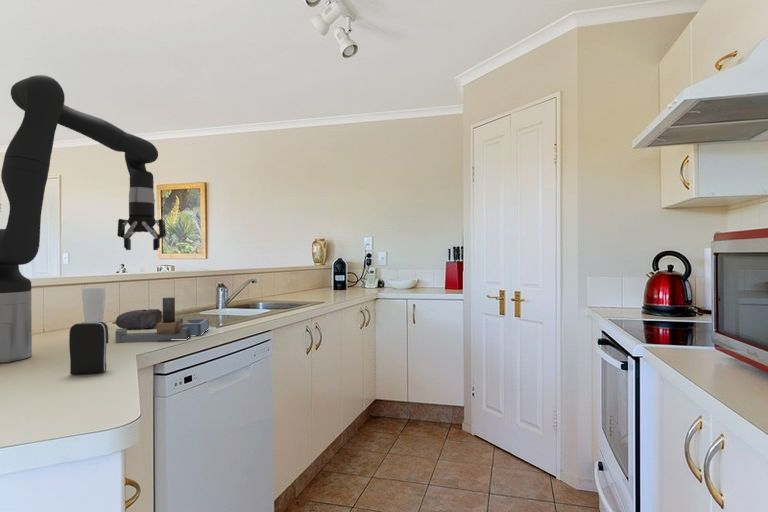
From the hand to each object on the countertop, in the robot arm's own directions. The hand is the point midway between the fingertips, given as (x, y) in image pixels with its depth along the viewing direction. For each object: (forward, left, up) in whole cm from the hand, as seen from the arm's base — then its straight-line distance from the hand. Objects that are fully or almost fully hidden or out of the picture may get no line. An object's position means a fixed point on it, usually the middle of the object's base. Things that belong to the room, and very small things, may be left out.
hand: (142, 250), depth 143 cm
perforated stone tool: (+10, +5, -28) cm, 31 cm away
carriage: (-8, -12, -28) cm, 31 cm away
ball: (-3, -15, -26) cm, 31 cm away
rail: (-13, -8, -28) cm, 32 cm away
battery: (-49, -7, -28) cm, 57 cm away
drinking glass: (+11, +20, -28) cm, 36 cm away
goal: (-3, -17, -28) cm, 33 cm away
